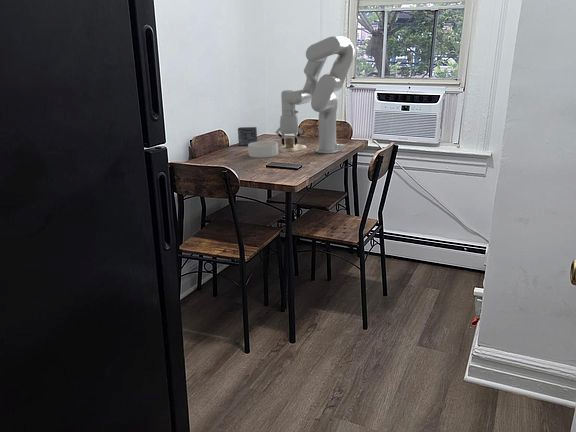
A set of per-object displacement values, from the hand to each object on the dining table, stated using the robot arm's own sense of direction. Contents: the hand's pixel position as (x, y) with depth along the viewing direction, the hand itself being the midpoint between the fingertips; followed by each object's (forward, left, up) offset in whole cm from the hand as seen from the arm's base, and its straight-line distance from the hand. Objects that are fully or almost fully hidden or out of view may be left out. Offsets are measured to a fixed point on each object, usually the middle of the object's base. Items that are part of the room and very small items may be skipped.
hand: (289, 144), depth 292 cm
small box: (+24, -17, -2) cm, 30 cm away
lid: (0, 0, -2) cm, 2 cm away
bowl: (+15, +15, -2) cm, 21 cm away
